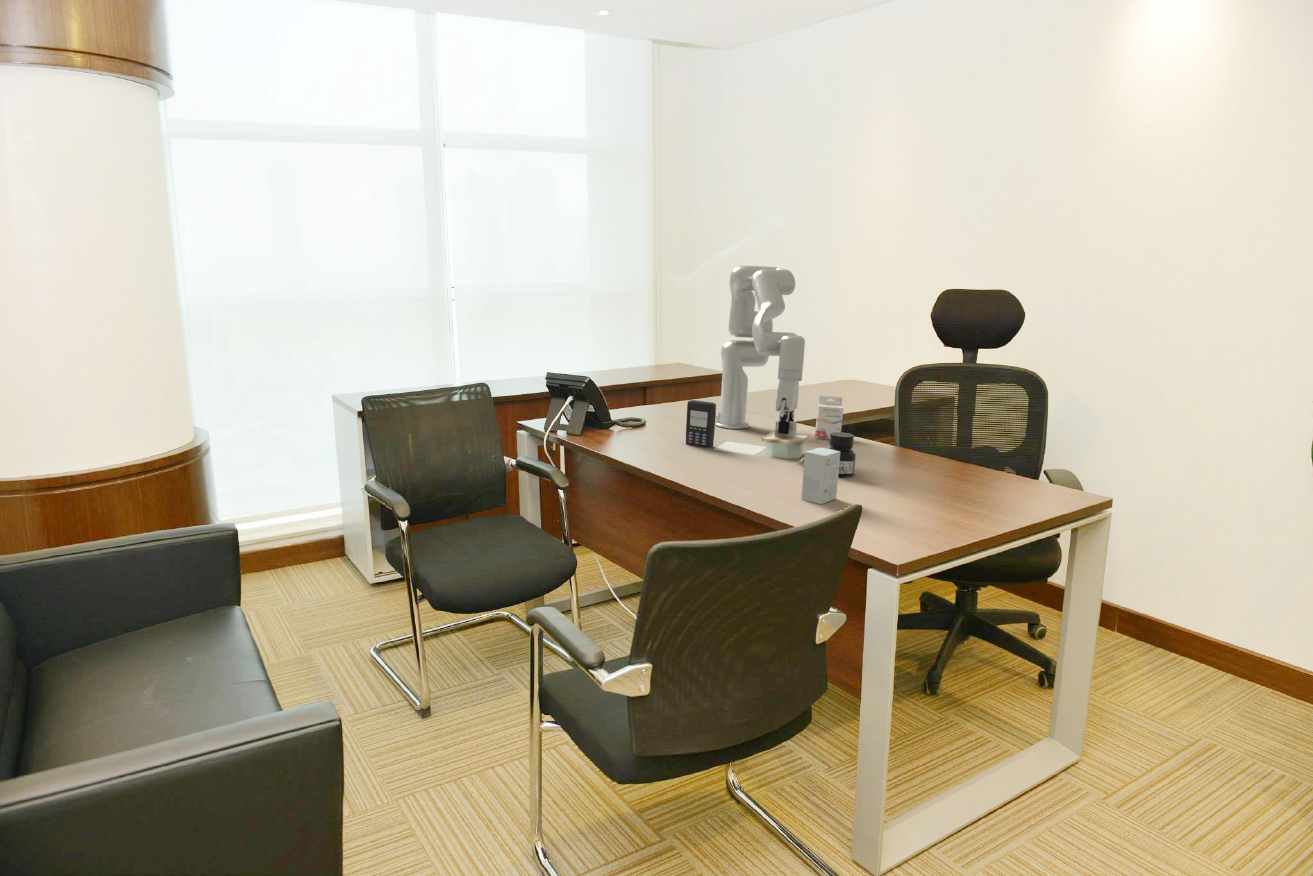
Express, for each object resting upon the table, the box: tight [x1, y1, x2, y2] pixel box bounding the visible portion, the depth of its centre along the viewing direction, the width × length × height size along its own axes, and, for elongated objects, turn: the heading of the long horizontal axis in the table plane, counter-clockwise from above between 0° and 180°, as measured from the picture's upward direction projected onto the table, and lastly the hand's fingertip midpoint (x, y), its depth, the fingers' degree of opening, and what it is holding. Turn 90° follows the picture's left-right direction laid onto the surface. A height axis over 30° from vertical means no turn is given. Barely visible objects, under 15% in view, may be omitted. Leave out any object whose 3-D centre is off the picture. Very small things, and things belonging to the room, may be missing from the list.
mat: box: [712, 441, 766, 456], centre depth 280 cm, size 14×14×1 cm
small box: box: [801, 447, 840, 505], centre depth 225 cm, size 8×6×13 cm
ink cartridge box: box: [814, 395, 844, 439], centre depth 303 cm, size 9×5×15 cm, turn 84°
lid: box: [760, 419, 809, 446], centre depth 272 cm, size 12×12×6 cm
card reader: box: [685, 399, 717, 449], centre depth 279 cm, size 9×4×15 cm, turn 62°
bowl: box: [764, 442, 805, 459], centre depth 274 cm, size 11×11×5 cm
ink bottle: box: [828, 431, 857, 478], centre depth 252 cm, size 10×9×12 cm
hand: (785, 431), depth 272 cm, fingers open, 4 cm apart
